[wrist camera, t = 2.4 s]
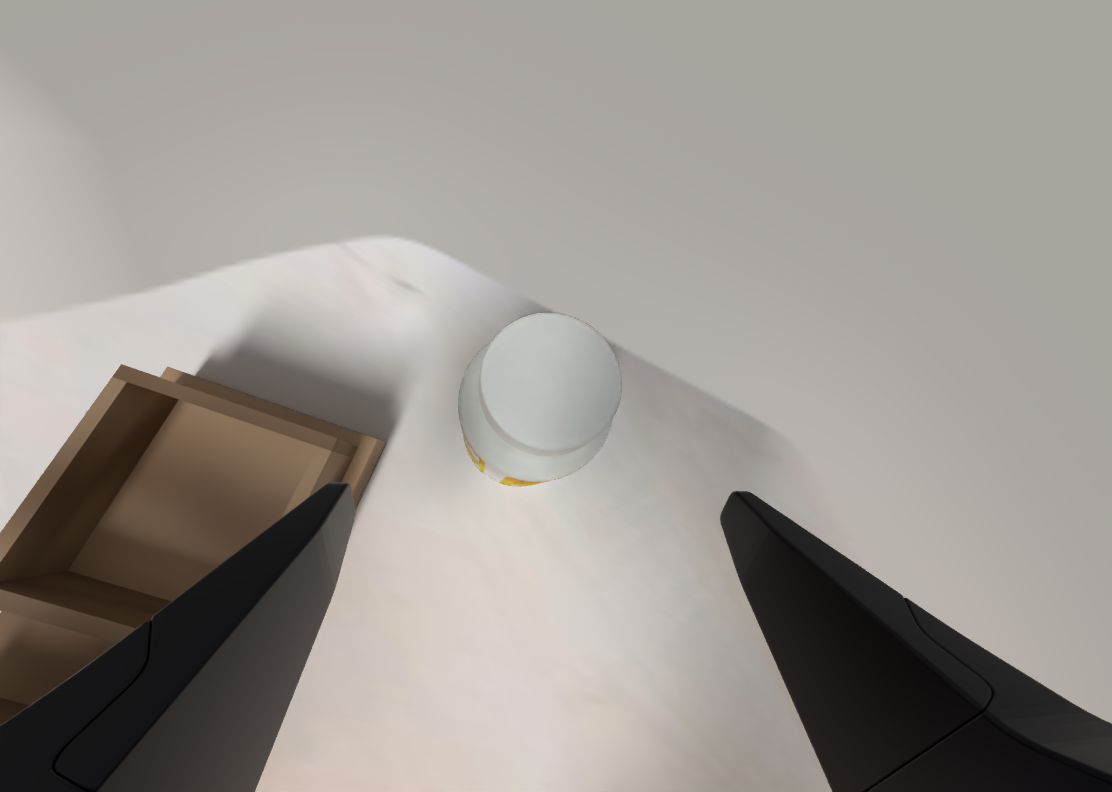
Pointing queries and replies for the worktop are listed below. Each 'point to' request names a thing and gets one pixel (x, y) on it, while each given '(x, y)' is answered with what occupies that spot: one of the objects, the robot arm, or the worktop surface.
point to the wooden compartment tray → (150, 514)
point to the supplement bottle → (539, 399)
